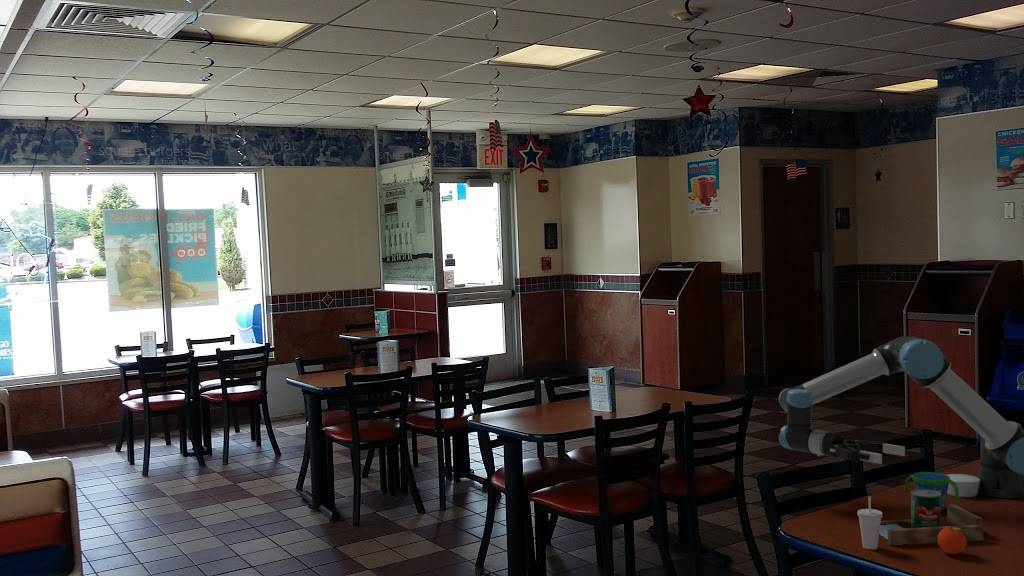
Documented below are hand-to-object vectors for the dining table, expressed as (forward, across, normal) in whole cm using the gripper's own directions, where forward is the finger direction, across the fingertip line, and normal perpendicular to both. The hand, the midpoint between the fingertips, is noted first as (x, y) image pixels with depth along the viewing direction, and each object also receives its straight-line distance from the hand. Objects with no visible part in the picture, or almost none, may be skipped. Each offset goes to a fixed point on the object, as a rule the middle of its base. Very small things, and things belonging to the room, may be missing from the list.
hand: (893, 455), depth 262 cm
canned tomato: (+10, 0, -20) cm, 23 cm away
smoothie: (+6, +24, -20) cm, 32 cm away
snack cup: (+1, -22, -20) cm, 30 cm away
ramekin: (0, -45, -20) cm, 49 cm away
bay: (+9, +2, -20) cm, 22 cm away
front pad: (+5, +9, -20) cm, 22 cm away
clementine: (+24, +13, -20) cm, 34 cm away
